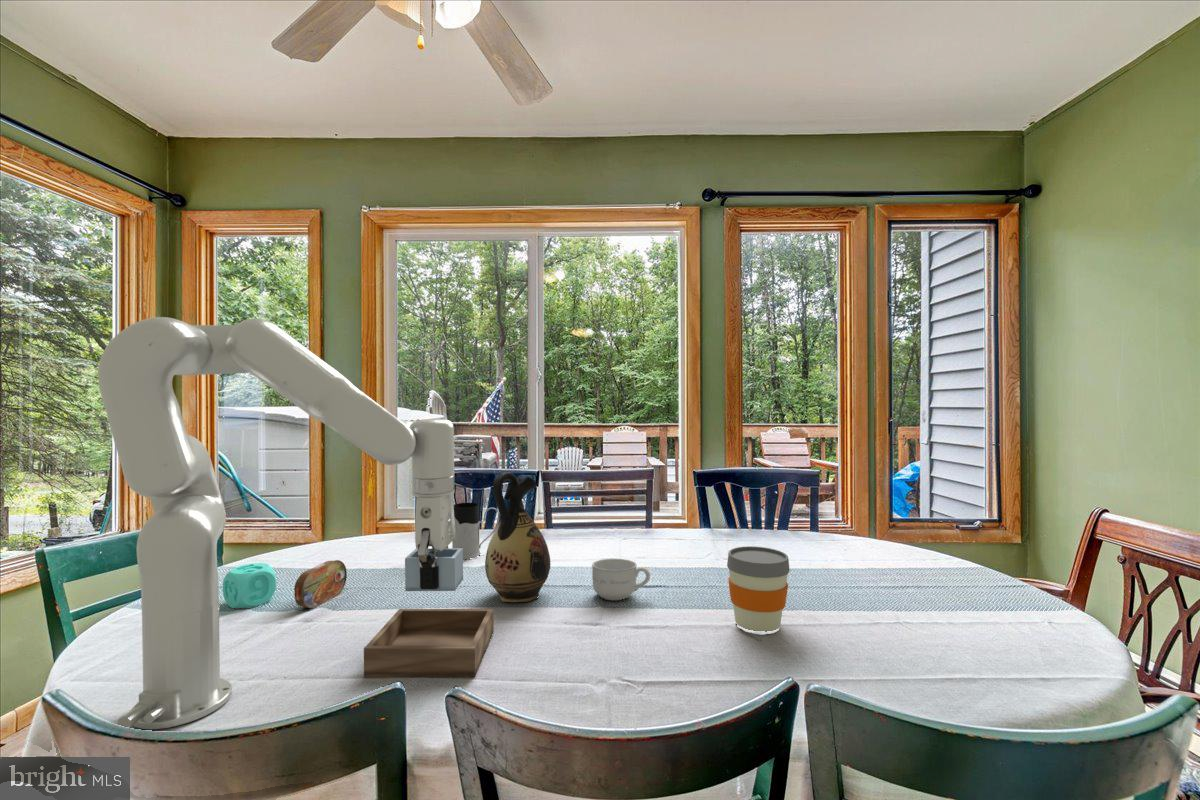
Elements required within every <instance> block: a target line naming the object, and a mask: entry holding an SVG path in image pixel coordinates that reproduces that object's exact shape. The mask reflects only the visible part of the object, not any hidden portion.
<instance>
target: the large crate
mask: <svg viewBox="0 0 1200 800" xmlns="http://www.w3.org/2000/svg"><path fill="white" fill-rule="evenodd" d="M494 629H495V627H494V608H399V609H398V610H397V611H396V612H395V613H394V614H393V616H392V617H391V618H390V619H388V621H387V622H386V623H385V624H384V626H383V627H382V628H381V629H380V630H379V631H377V633H376V634H375V636H374V637H372V639H370V641H369V642H368V643H367V645H365V646H364V648H363V678H476V676H477V674H478V671H479V669H480V666H481V664H482V662H483V660H484V657H485V655H486V652H487V650H488V648H487V647H489V645H488V644H490V643H491V641H490V639H491V640H492V638H493V636H492V634H493V632H494V633H495V631H494ZM493 635H494V634H493ZM491 637H492V638H491ZM489 642H490V643H489ZM486 649H487V650H486ZM484 654H485V655H484ZM482 659H483V660H482Z"/></svg>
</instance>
